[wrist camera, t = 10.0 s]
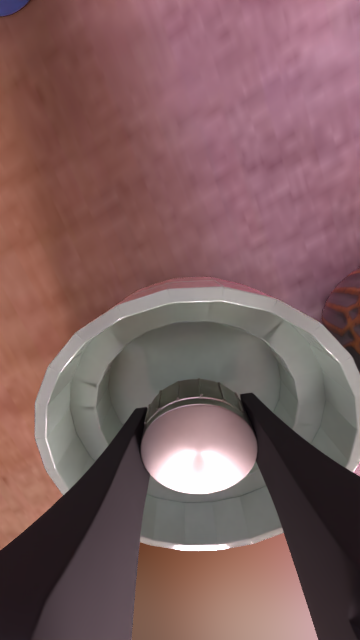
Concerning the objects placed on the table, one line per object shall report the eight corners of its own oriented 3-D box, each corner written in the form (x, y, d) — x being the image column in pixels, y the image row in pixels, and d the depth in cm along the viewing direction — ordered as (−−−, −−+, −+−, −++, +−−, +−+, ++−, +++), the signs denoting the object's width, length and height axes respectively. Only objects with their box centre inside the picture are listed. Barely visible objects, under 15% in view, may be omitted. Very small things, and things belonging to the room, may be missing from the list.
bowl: (77, 448, 15) (33, 528, 10) (95, 249, 10) (34, 244, 6) (261, 480, 15) (291, 567, 11) (343, 306, 11) (444, 336, 7)
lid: (249, 452, 11) (262, 488, 9) (157, 463, 11) (152, 500, 9) (242, 370, 9) (255, 395, 8) (136, 385, 10) (126, 412, 8)
